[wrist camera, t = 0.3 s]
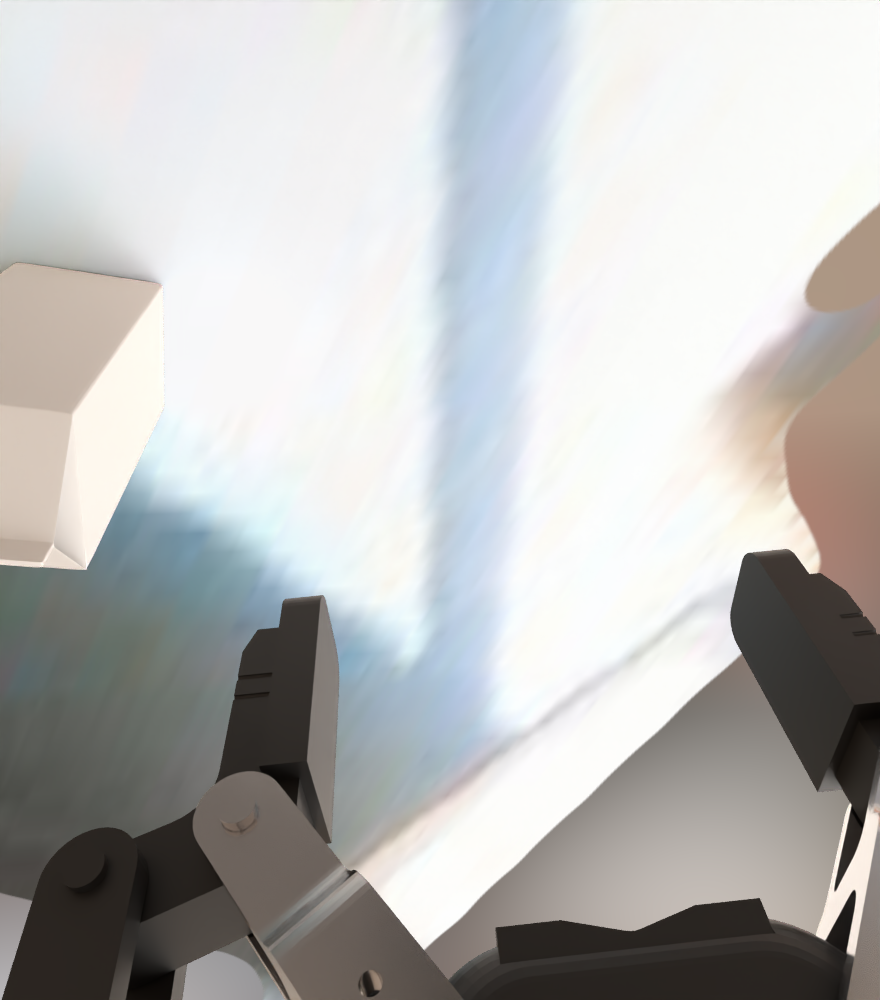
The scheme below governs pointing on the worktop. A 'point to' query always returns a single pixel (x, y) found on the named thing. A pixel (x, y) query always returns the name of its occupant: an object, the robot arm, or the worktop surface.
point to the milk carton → (72, 406)
